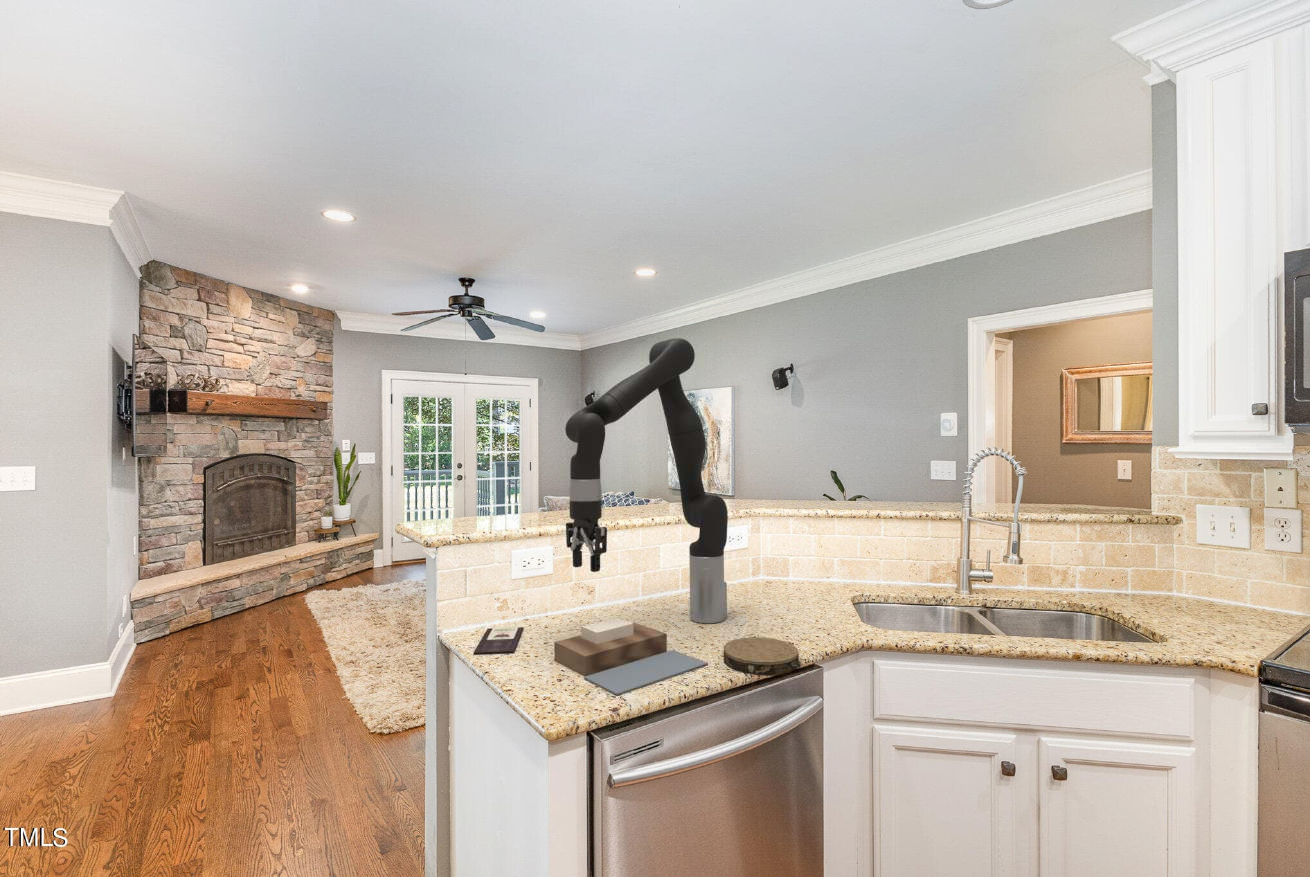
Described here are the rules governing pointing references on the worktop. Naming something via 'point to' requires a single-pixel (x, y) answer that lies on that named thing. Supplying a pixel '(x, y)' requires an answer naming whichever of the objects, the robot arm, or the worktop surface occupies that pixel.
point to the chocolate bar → (499, 641)
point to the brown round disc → (761, 656)
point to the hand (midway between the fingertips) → (586, 568)
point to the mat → (644, 672)
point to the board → (609, 650)
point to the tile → (606, 630)
